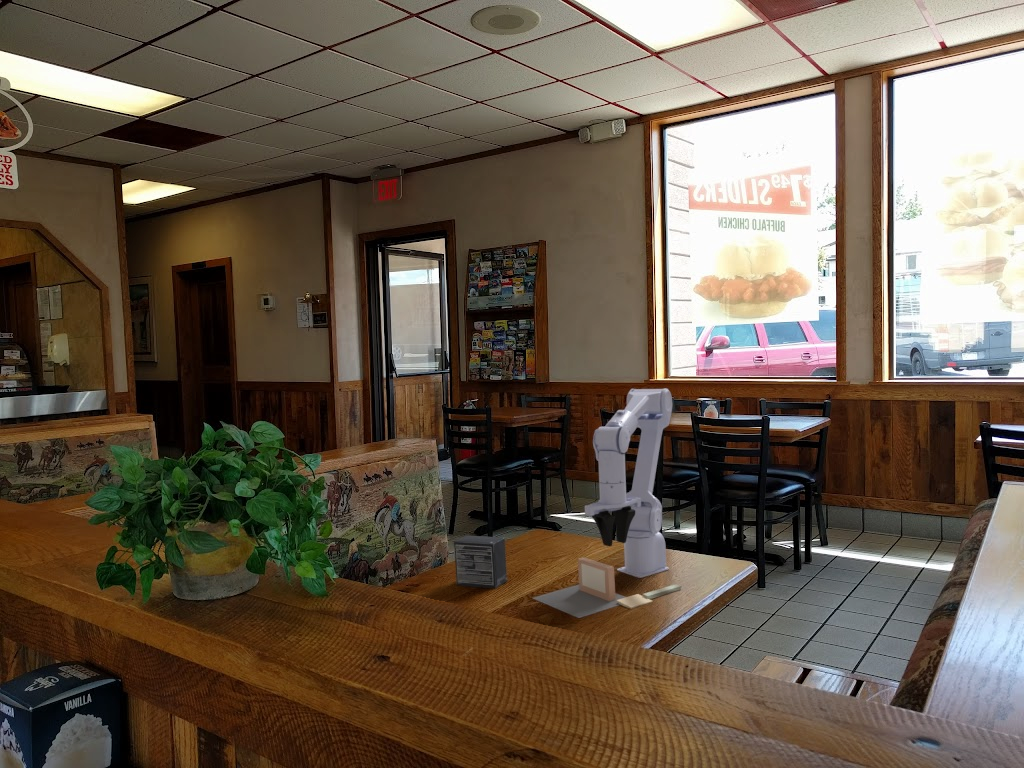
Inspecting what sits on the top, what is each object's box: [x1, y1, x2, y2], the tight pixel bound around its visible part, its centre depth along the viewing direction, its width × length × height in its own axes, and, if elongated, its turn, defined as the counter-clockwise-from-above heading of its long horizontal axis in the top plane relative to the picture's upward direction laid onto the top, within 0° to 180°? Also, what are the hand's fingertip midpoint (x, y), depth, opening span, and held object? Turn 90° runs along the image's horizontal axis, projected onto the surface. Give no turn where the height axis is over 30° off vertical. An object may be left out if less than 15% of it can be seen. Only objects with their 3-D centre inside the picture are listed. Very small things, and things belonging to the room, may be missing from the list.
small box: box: [453, 535, 508, 589], centre depth 181 cm, size 11×6×10 cm, turn 65°
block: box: [577, 556, 616, 601], centre depth 168 cm, size 2×10×7 cm, turn 34°
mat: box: [532, 584, 627, 619], centre depth 166 cm, size 15×16×1 cm
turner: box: [617, 583, 682, 610], centre depth 165 cm, size 16×4×1 cm, turn 124°
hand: (614, 543), depth 170 cm, fingers open, 3 cm apart
